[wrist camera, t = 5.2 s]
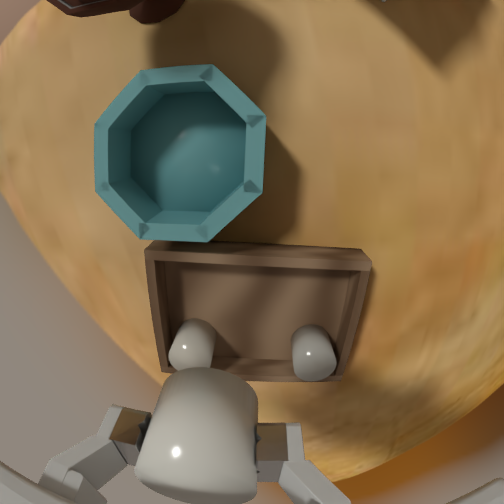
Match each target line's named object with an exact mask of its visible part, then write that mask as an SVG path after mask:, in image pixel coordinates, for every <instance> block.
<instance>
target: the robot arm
mask: <svg viewBox="0 0 504 504" xmlns="http://www.w3.org/2000/svg"><path fill="white" fill-rule="evenodd" d="M151 418H152V415H151V413H150V412H145V411H140V410H135V409H131V408H126V407H122V406H118V405H112V406H111V407H109V409H108V411H107V414H106V416H105V418H104V420H103V422H102V424H101V426H100V428H99V430H98V433H97V434H96V435H91V436H90V437H88V438H86V439H85V440H83V441H82V442H80V443H78V444H76V445H75V446H73V447H71V448H69V449H68V450H66V451H64V452H62V453H61V454H59V455H57V456H55V457H54V458H52V459H50V461H49V462H48V465H47V467H46V468H45V470H44V473H43V475H42V477H41V479H40V481H39V483H38V484H37V483H35V482H33V481H31V480H30V479H28V478H26V477H25V476H23V475H21V474H20V473H18V472H16V471H14V470H13V469H12V468H10V467H9V466H7V465H5V464H4V463H3V462H1V461H0V504H107V500H106V499H105V497H104V496H102V495H101V494H100V493H99V492H98V491H97V490H98V489H100V488H101V487H102V486H103V485H104V484H106V483H107V482H108V481H109V480H111V479H112V478H113V477H114V476H116V475H117V474H118V473H119V472H120V471H121V470H123V469H124V468H125V467H126V466H127V464H129V465H133V466H136V463H137V460H138V457H139V454H140V451H141V448H142V445H143V442H144V439H145V436H146V433H147V430H148V427H149V424H150V421H151ZM256 441H257V445H256V469H257V482H278V483H279V485H280V486H281V487H282V489H283V490H284V491H285V492H286V494H287V495H288V496H289V498H290V499H291V500H292V502H293V503H294V504H351V502H350V500H349V499H348V498H347V497H346V496H345V495H344V494H343V493H342V492H341V491H340V490H339V489H338V488H337V487H335V485H334V484H333V483H331V482H330V481H329V480H328V479H327V478H326V477H325V476H324V475H323V474H322V473H321V472H320V471H319V470H318V469H317V468H316V467H315V465H314V464H313V463H312V462H311V461H310V460H305V455H304V446H303V437H302V429H301V424H300V423H299V422H298V423H257V429H256ZM446 504H504V479H503V478H496V479H494V480H492V481H490V482H488V483H486V484H485V485H483V486H481V487H479V488H477V489H475V490H474V491H471V492H470V493H468V494H465V495H463V496H461V497H459V498H457V499H455V500H453V501H451V502H448V503H446Z"/></svg>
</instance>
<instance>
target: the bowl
mask: <svg viewBox="0 0 504 504" xmlns="http://www.w3.org/2000/svg"><path fill="white" fill-rule="evenodd" d="M265 132H266V115H265V114H264V113H263V112H262V111H261V110H260V109H259V108H258V107H257V106H256V105H255V104H254V103H253V102H252V101H251V100H250V99H249V98H248V97H247V96H246V95H245V94H244V93H243V92H242V91H241V90H240V89H239V88H238V87H237V86H236V85H235V84H234V83H233V82H232V81H231V80H230V79H228V78H227V77H226V76H225V75H224V74H223V73H222V72H221V71H220V70H219V69H218V68H217V67H215V66H214V65H213V64H204V65H187V66H174V67H164V68H155V69H147V70H141V71H140V72H139V73H138V74H137V75H136V76H135V77H134V78H133V79H132V80H131V81H130V82H129V83H128V85H127V86H126V87H125V88H124V89H123V90H122V91H121V92H120V94H119V95H118V96H117V97H116V98H115V99H114V100H113V102H112V103H111V104H110V105H109V106H108V108H107V109H106V110H105V111H104V113H103V114H102V115H101V116H100V118H99V119H98V120H97V121H96V123H95V127H94V170H95V192H96V193H97V194H98V195H99V196H100V197H101V198H102V199H103V200H104V202H105V203H106V204H107V205H108V206H109V207H110V208H111V209H112V210H113V211H114V212H115V213H116V215H117V216H118V217H119V218H120V219H121V220H122V221H123V222H124V223H125V224H126V225H127V226H128V227H129V228H130V229H131V230H132V231H133V233H134V234H135V235H136V236H137V237H138V238H139V239H146V240H168V241H190V242H208V241H210V240H211V239H212V238H213V237H214V236H215V235H216V234H217V233H218V232H219V231H220V230H222V229H223V228H224V227H225V226H226V225H227V224H228V223H229V222H230V221H231V220H233V219H234V218H235V217H236V216H237V215H238V214H239V213H240V212H241V211H243V210H244V209H245V208H246V207H247V206H248V205H249V204H250V203H252V202H253V201H254V200H255V199H256V198H257V197H258V196H259V195H261V194H262V193H263V173H264V153H265Z"/></svg>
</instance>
